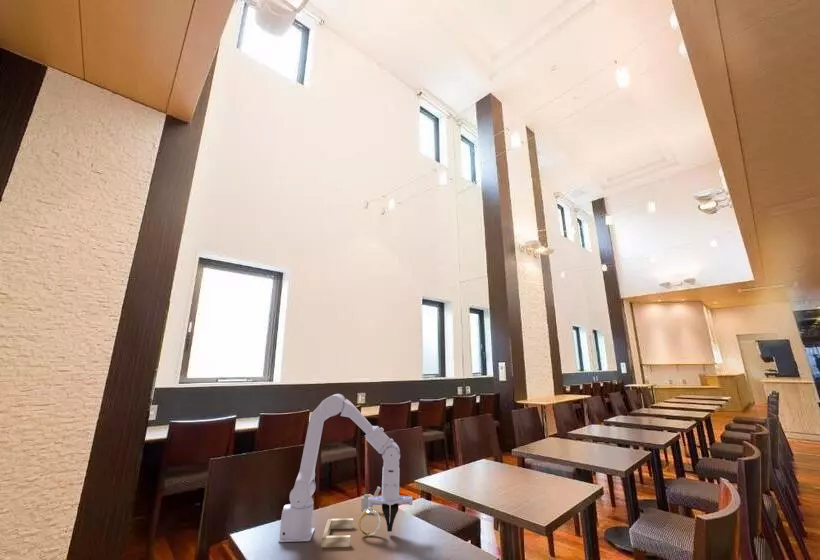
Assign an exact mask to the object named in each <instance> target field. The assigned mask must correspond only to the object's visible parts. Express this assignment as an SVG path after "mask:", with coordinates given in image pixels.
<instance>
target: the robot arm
mask: <svg viewBox="0 0 820 560" xmlns="http://www.w3.org/2000/svg"><path fill="white" fill-rule="evenodd" d="M339 414H340V417H345V418H349V419H350V420H352V422H353V423H355V424H356V426H358V427H359V428H360V429H361V430H362V432H363V433H365V440H366V441H367V443H369V444H370V445H371V446H372V448H373V449H375V450H376V452H377V453H378V454H381V457H382V460H383V466H382V472H381V473H382V477H381V478H382V479H381V495H378V496H377V497H373V496H370V497H368V506H371V505H373V506H381V509H382V513H383V516H384V519H385V523H386V529H387V532H389V533H390V532H393V526H394V522H395V519H396V516H397V514H398V512H399V505H409V506H413V496H409V495H408V496H407V495H400V471H401V470H400V460H401V450H400V447H399V445H398V444H397V442H395V441H394V439H393V438H390V437H389V436H388V435H387V434H386V433H385V432H384V431H385V430H384V428H383V427H380V426H379V425H372V424H371V422H370V421H368V419H367V418H366V416H365V415H363V414H362V413H361V411H360V410H359V409H358V408H357V407H356V406H355V405H354V404H353V403H352V402H351V401H350V400H349V399H347V398H346V397H345V396H344V394H341V393H335V394H332V395H330V396H328V397H327V398H324V399H323V400H321V402H320V403H319V404H318V406H317V407H316V408H315V409H314V410H313V411H312V412H311V413H310V416H309V419H308V420H309V422H308V426H307V431H306V436H305V441H304V446H303V451H302V452H303V453H302V457H301V462H300V468H299V471H298V474H297V477H296V479H295V483H294V486H293V488H292V489H291V491H290V492H289V502H290V503H288V504H285V505H283V509H282V511H281V517H280V528H279V537H278V538H279V539H278V542H279V543H288V542H290V543H292V542H295V543H296V542H310V541H311V540H312V537H313V534H314V532H315V529H316V528H315V527H313V517H314V516H313V515H314V504H315V503H314V499H313V495H314V493H315V491H316V487H317V486H316V481H315V477H316V466H317V462H318V461H317V460H318V455H319V452H320V451H319V450H320V444H321V438H322V433H323V428H324V423H325V421H327V419H329V418H330V417H335V416H337V415H339Z"/></svg>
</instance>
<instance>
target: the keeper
mask: <svg viewBox="0 0 820 560" xmlns="http://www.w3.org/2000/svg"><path fill="white" fill-rule="evenodd" d="M353 528H354V518H352V517H351V518H347V517H346V518H328V519H327V521H326V524H325V528H324V530H323V534H322V536H321V543H320V544H321V545H320V547H321V548H349V547H351V534H349V535H347V534H346V535H344V534H343V535H339V534H338V535H330V533H331V530H339V529H340V530H341V529H342V530H343V529H348V530H349V529H353Z"/></svg>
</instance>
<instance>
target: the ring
mask: <svg viewBox="0 0 820 560" xmlns="http://www.w3.org/2000/svg"><path fill="white" fill-rule="evenodd" d="M369 514H373V515H375V516H376V517H377V522H378V523H377V526H376V528H375V529H374V530H373V531H365V529H363V527H362V520H363V519H364V518H365V517H366V516H368V515H369ZM380 527H381V516H380V514H379V513H378V512H377V511H376V510H375V507H373V508H371V507H368V509H367V508H366V510H365V509H364V511H361V514H360V516H359V519H358V529H359V531H360V532H361V534H363V535H364V536H368V537H371V536H374V535H375V534H376V533H378V531H379V530H380Z"/></svg>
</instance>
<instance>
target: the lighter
mask: <svg viewBox="0 0 820 560" xmlns="http://www.w3.org/2000/svg"><path fill="white" fill-rule="evenodd" d="M381 490H382V487H380V486H377V487H376V490H375V491H374V493H373V496H372V497H377V496H379V494H380V492H381ZM368 497H371V494H370V493H369V494H368V493H365V494H364V495H363V496H361V505H360V506H361V507H360V512H363V511H364V509H365V510H366V508H367V509H368V507H371V508H374V507H373V506H374V505H371V506H368Z"/></svg>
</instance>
